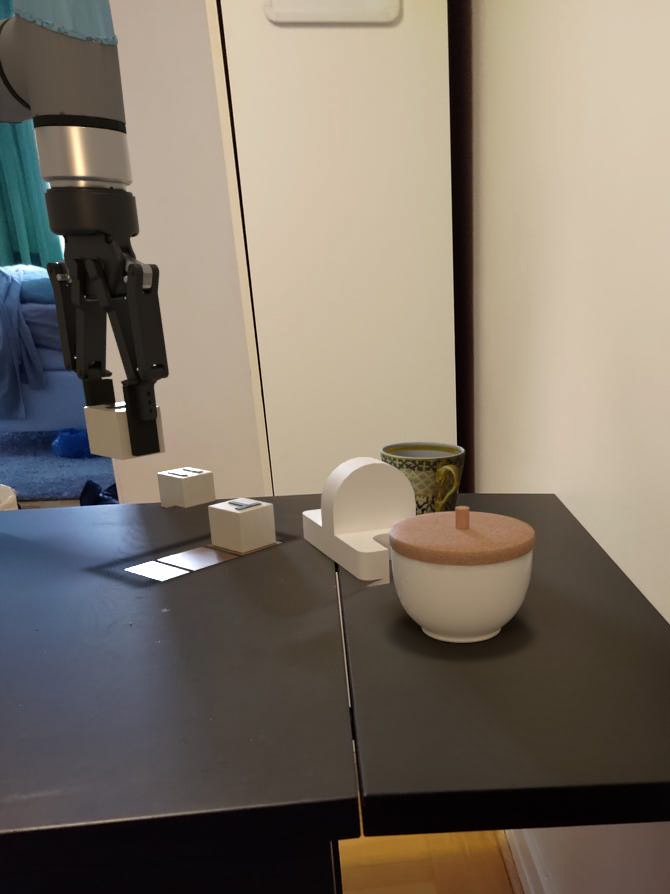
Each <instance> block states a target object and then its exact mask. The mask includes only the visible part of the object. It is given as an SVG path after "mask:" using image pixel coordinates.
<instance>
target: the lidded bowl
mask: <svg viewBox="0 0 670 894" xmlns="http://www.w3.org/2000/svg"><path fill="white" fill-rule="evenodd" d="M389 543H390V546H391V560H390V561H391V571H392V577H393V584H394V588H395V592H396V595H397V597H398V600H399V602H400V604H401V606H402V608H403V609H404V611H405V612H406V613H407V615H408V616H409V617H410V618H411V619H412V620H413V621H414V622H415V623H416V624H417V625H418V626H420V627H421V631H422V632H423V633H424V634H425V635H427V636H428V637H430V638H432V639H435V640H437V641H442V642H446V643H447V642H449V643H461V644H462V643H463V644H464V643H465V644H467V643H476V642H482V641H486V640H489V639H492V638H493V637H496V636H497V635H499V633H500V632H501V630H502V627H504V626H505V625H507V623H509V622H510V621H511V620H512V619H513V618H514V617H515V616H516V614H517V613H518V611H519V610H520V609H521V607H522V605H523V603H524V600H525V599H526V596H527V593H528V591H529V586H530V583H531V576H532V573H533V572H532V571H533V561H534V549H535V546H536V531H535V529H533V527H532V526H531V525H530V524H528V523H527V522H525V521H523V520H520V519H518V518H515V517H512V516H508V515H502V514H498V513H492V512H484V511H483V512H482V511H470V506H466V505H458V506H455V511H450V512H435V513H428V514H421V515H417V516H413V517H409V518H406V519H403V520H401V521H399V522H397V523H395V524H394V525H393V526H392V527H391V528H390V530H389Z"/></svg>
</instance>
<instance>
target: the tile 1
mask: <svg viewBox="0 0 670 894" xmlns="http://www.w3.org/2000/svg"><path fill="white" fill-rule="evenodd" d="M156 408H157V419H156V423H157V430H158V438H159V446H160V452H158V453H153V454H147V455H142V456H132V452H131V444H130V437H129V430H128V422H127V415H126V410H125V403H124V401H121V402H116V403H109V402H104V403H101V405H96V406H88V407H86V406H83V413H84V420H85V425H86V432H87V439H88V445H89V451H90V454H91V455H96V456H101V457H104V458H110V459H115V460H121V461H125V460H130V459H136V458H142V457H146V456H152V455H157V454H163V453H166V445H165V439H164V429H163V422H162V420H163V419H162V412H161V406H160V405H156Z"/></svg>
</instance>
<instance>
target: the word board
mask: <svg viewBox="0 0 670 894" xmlns="http://www.w3.org/2000/svg"><path fill="white" fill-rule="evenodd" d="M280 544H283V542H282V541H278V540H276V543H273V544H270V545H267V546H263V547H260V548H257V549H254V550H251V551H248V552H244V553H241V552H237V551H233V550H229V549H225V548H221V547H218V546H214V545H212V543H209V544H206V545H205V547H204V546H199V547H195V548H193V549H189V550H185V551H182V552H179V553H176V554H171V555H169V556H165V557H162V558H158V559H156V561H158V562H156V561H153V560H152V561H148V562H145V563H142V564H138V565H135V566H131V567H128V568H125V569H123V571H128V572H131V573H134V574H137V575H140V576H144V577H146V578H151V579H154V580H157V581H161V582H165V581H168V580H171V579H174V578H177V577H178V578H179V577H181V576H183V575H187V574H190V573H191V571H192V572H196V571H199V570H202V569H205V568H209V567H212V566H215V565H218V564H221V563H224V562H228V561H231V560H234V559H236V558H239V557H240V556H247V555H250V554H252V553H256V552H258V551H263V550H265V549H269V548H271V547H275V546H277V545H280ZM160 562H161V563H160ZM167 564H168V565H167ZM174 566H175V567H174Z"/></svg>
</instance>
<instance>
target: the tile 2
mask: <svg viewBox="0 0 670 894" xmlns="http://www.w3.org/2000/svg"><path fill="white" fill-rule="evenodd" d="M207 509H208V520H209V529H210V538H211V539H210V540H211V544H212V545H214V546H218V547H221V548H225V549H229V550H233V551H237V552H241V553H244V552H248V551H251V550H254V549H257V548H260V547H263V546H267V545H270V544H273V543H276V541H277V538H276V525H275V511H274V503H270V502H266V501H261V500H256V499H252V498H248V497H246V498H245V497H238V498H235V499H234V498H233V499H230V500H227V501H222V502H219V503H218V502H217V503H215V504H211V505H208V506H207Z"/></svg>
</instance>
